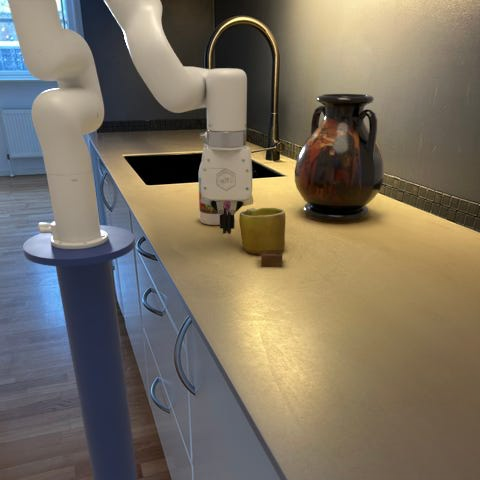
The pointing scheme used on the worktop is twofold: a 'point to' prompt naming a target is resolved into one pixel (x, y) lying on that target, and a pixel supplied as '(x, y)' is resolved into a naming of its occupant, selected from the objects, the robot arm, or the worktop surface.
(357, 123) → the amphora vase
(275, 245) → the mug
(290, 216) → the worktop surface
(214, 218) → the milk bottle
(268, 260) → the block
